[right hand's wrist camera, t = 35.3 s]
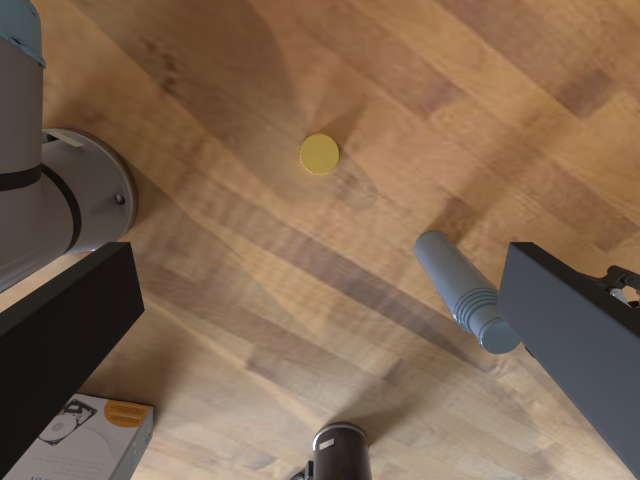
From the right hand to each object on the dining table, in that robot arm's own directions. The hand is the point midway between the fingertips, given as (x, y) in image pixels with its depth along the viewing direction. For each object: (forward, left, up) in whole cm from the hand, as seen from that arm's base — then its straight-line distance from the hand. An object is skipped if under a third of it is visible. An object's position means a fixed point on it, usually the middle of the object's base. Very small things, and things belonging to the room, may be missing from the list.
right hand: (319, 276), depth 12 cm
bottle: (+4, -20, -33) cm, 38 cm away
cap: (0, 0, -31) cm, 31 cm away
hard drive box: (-55, -10, -33) cm, 64 cm away
